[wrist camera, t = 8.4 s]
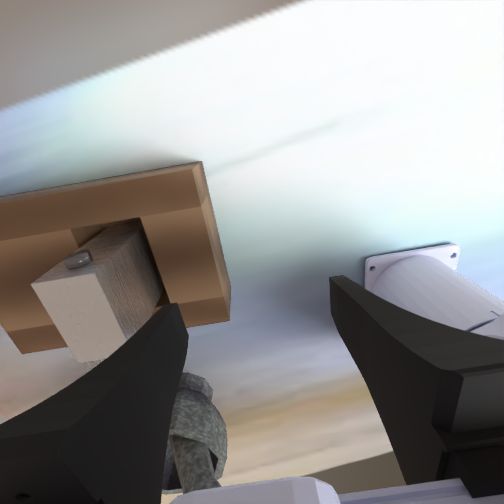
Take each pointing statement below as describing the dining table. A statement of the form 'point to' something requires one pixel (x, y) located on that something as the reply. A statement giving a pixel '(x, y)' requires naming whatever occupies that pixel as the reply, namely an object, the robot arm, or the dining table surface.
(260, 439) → the dining table surface
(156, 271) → the grey block with knob
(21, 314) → the slotted wooden frame
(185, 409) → the mortar and pestle
